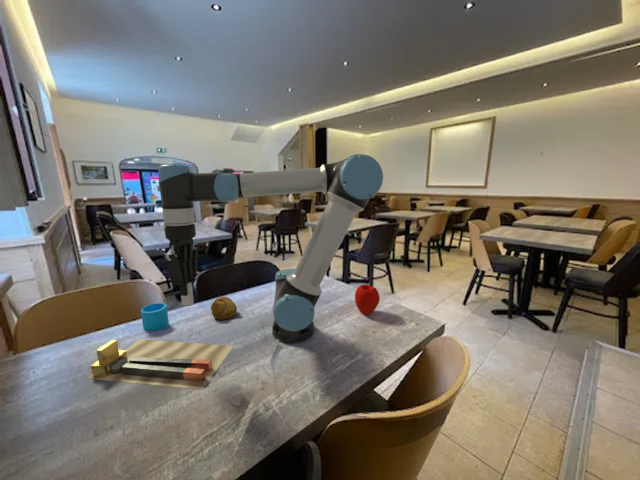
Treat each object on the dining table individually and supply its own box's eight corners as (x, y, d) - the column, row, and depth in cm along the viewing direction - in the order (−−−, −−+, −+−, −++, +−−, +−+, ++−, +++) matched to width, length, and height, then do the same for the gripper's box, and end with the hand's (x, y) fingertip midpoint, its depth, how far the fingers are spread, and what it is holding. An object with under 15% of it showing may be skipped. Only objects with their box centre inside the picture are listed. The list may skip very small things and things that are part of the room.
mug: (166, 331, 99) (164, 310, 98) (140, 335, 97) (137, 314, 95) (172, 316, 110) (170, 297, 109) (149, 320, 108) (146, 300, 106)
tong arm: (212, 367, 78) (211, 359, 77) (209, 371, 76) (208, 363, 75) (134, 364, 79) (133, 356, 78) (129, 368, 77) (128, 360, 77)
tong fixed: (210, 371, 76) (209, 363, 76) (201, 382, 72) (200, 374, 71) (118, 363, 79) (117, 355, 79) (105, 373, 75) (103, 365, 75)
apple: (382, 311, 115) (383, 283, 113) (373, 320, 107) (374, 291, 104) (360, 305, 120) (361, 279, 118) (350, 314, 112) (351, 286, 110)
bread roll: (211, 309, 116) (210, 292, 115) (235, 306, 120) (234, 289, 118) (211, 324, 105) (210, 304, 103) (238, 319, 108) (236, 300, 106)
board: (234, 350, 88) (234, 345, 88) (202, 394, 70) (202, 389, 69) (140, 343, 92) (140, 339, 92) (87, 383, 74) (86, 378, 73)
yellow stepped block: (127, 360, 80) (124, 338, 79) (106, 377, 74) (101, 353, 72) (115, 359, 81) (111, 337, 80) (92, 375, 74) (88, 352, 73)
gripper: (182, 220, 81) (189, 294, 86) (149, 227, 69) (160, 313, 73) (205, 220, 80) (211, 296, 85) (176, 227, 67) (186, 315, 72)
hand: (188, 304), depth 79 cm, fingers closed
